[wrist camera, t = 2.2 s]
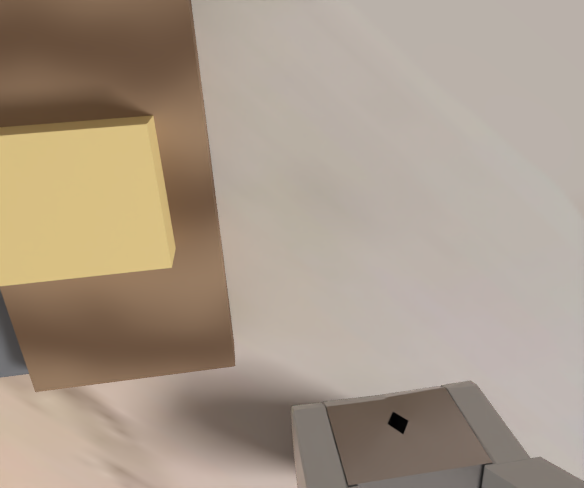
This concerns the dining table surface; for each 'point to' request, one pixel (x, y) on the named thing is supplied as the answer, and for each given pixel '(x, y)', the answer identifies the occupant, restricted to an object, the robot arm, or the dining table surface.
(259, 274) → the dining table surface
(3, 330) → the mat
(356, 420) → the robot arm
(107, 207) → the pale yellow flat block
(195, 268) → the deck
